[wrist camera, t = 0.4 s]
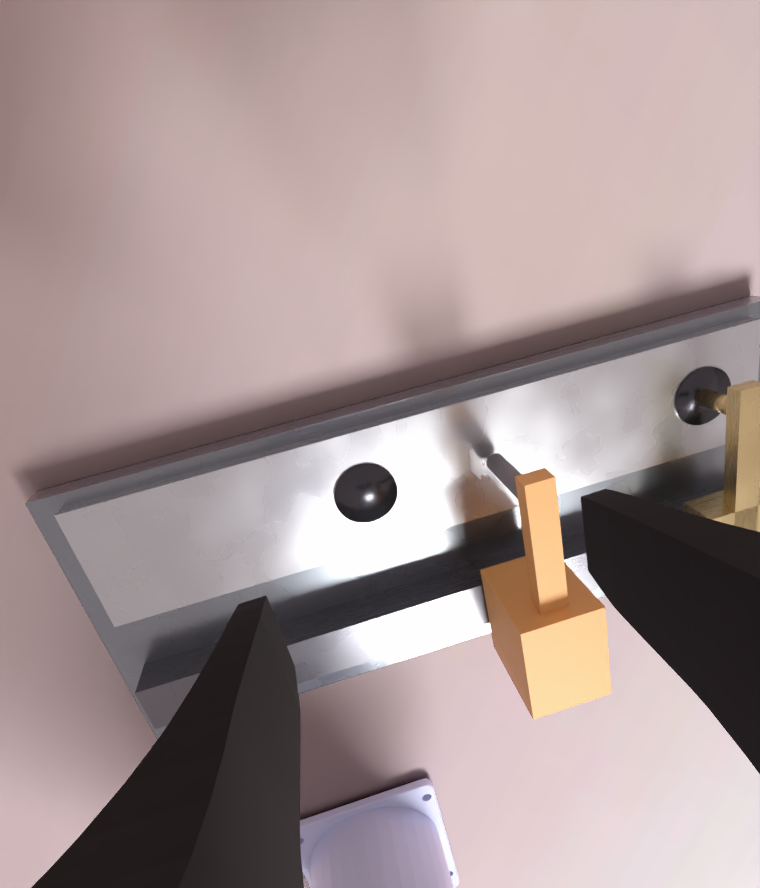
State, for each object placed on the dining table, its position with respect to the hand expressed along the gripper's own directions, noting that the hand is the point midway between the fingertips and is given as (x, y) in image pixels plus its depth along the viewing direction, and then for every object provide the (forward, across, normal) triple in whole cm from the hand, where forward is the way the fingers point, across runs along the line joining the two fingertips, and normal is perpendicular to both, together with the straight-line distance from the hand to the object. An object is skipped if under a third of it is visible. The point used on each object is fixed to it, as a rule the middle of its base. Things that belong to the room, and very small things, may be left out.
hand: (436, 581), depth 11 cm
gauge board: (+10, -2, +5) cm, 11 cm away
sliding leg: (+8, -4, +5) cm, 10 cm away
